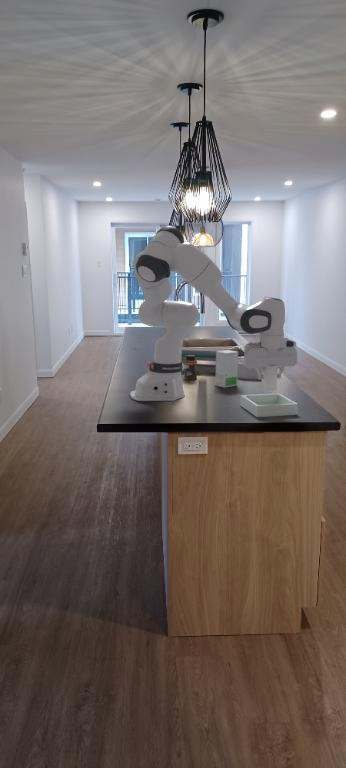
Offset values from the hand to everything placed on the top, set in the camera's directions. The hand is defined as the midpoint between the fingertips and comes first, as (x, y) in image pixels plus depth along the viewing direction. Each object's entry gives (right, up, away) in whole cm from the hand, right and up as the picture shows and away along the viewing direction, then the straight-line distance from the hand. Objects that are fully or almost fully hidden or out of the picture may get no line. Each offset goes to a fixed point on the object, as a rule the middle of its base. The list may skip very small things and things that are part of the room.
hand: (269, 378), depth 197 cm
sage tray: (0, -12, +3) cm, 12 cm away
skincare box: (-12, -3, +41) cm, 43 cm away
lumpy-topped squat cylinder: (+1, +1, +60) cm, 60 cm away
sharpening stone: (-20, +5, +72) cm, 75 cm away
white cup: (0, -4, +1) cm, 4 cm away
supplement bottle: (-28, 0, +53) cm, 60 cm away
